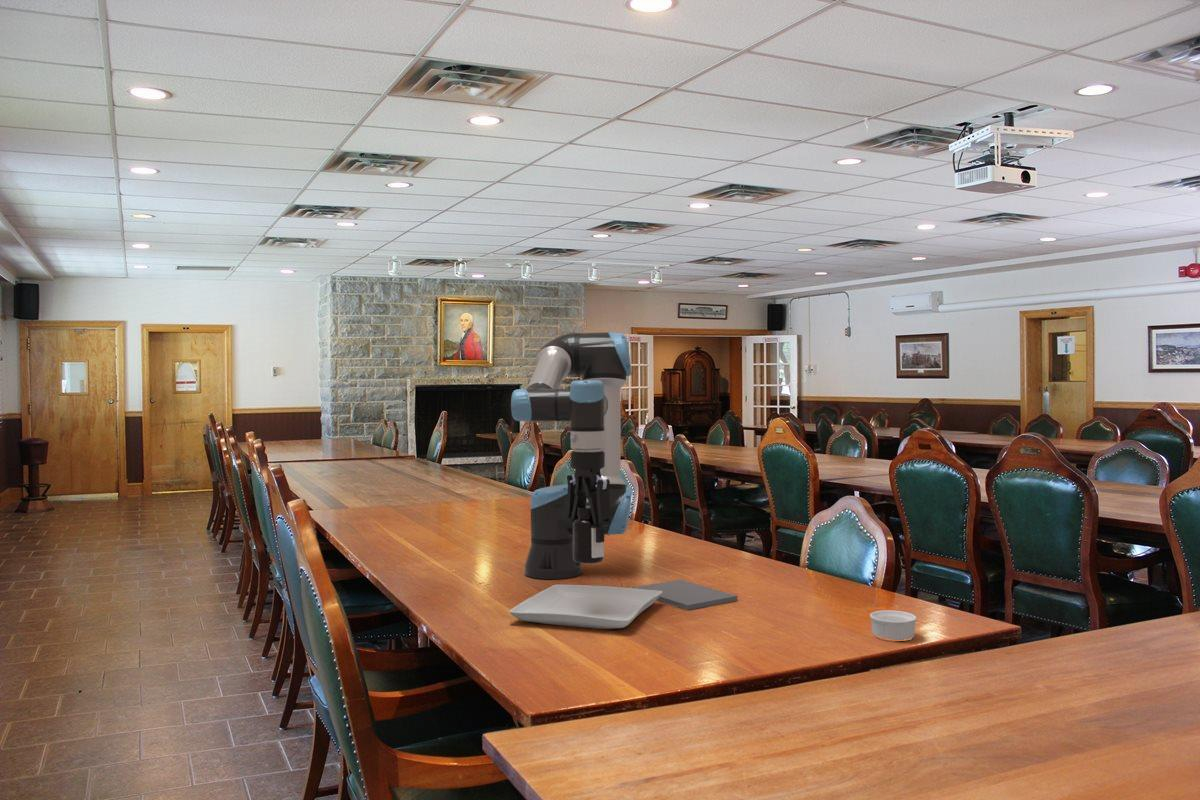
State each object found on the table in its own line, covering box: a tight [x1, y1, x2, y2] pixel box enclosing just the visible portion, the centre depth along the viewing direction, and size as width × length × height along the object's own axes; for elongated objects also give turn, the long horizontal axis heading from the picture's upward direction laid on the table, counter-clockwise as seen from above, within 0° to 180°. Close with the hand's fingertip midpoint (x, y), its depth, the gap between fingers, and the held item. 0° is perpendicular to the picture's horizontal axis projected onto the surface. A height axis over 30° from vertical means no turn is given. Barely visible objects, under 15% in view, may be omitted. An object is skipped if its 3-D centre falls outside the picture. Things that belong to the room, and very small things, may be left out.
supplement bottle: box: [573, 506, 604, 564], centre depth 201 cm, size 7×7×12 cm
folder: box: [631, 579, 738, 611], centre depth 217 cm, size 15×21×1 cm
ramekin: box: [869, 609, 918, 640], centre depth 183 cm, size 9×9×4 cm
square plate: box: [508, 583, 663, 630], centre depth 202 cm, size 27×27×4 cm
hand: (588, 554), depth 201 cm, fingers closed on supplement bottle, 7 cm apart
